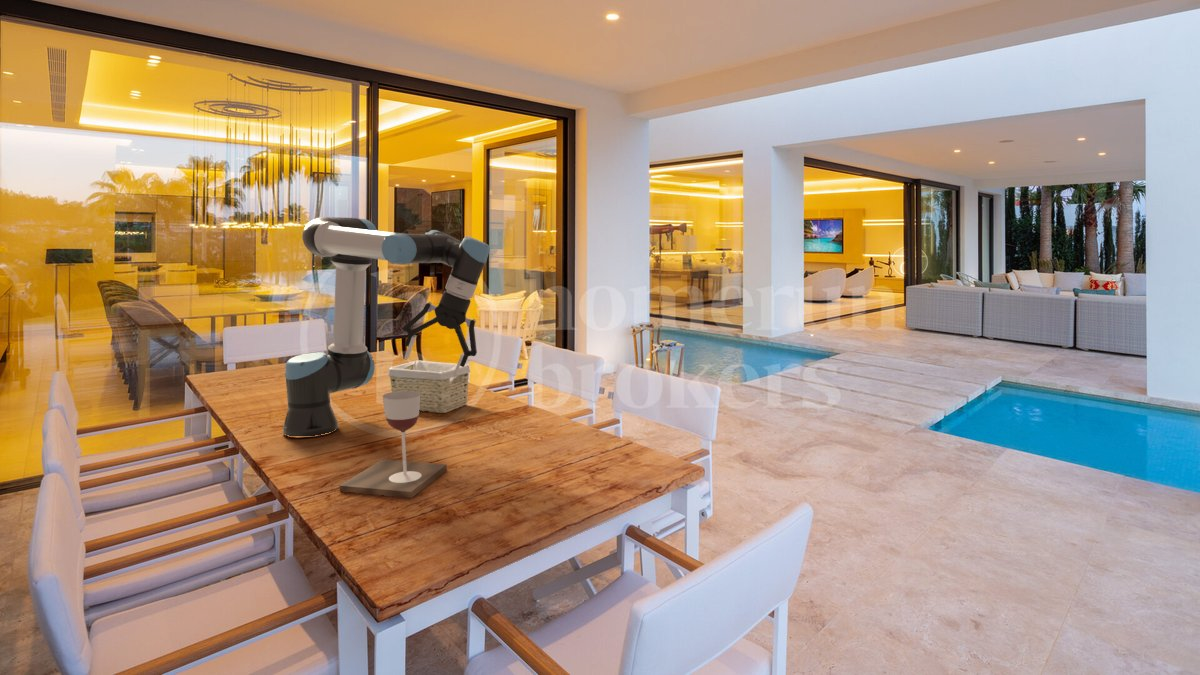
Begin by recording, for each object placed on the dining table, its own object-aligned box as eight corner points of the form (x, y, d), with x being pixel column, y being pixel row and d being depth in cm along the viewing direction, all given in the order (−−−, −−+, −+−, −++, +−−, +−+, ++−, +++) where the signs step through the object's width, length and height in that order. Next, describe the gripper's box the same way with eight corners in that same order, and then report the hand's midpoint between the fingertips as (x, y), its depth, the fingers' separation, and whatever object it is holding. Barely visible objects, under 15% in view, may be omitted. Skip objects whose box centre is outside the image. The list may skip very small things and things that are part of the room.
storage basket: (387, 408, 217) (385, 367, 215) (418, 398, 232) (417, 359, 229) (444, 416, 208) (442, 372, 205) (472, 404, 222) (471, 364, 220)
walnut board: (339, 491, 144) (339, 485, 144) (382, 464, 161) (381, 459, 161) (411, 498, 140) (411, 491, 140) (446, 470, 158) (446, 464, 158)
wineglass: (405, 468, 155) (401, 389, 152) (430, 475, 150) (427, 394, 147) (379, 478, 148) (374, 396, 145) (405, 485, 144) (401, 401, 141)
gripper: (409, 278, 161) (382, 353, 164) (501, 313, 165) (472, 386, 167) (415, 276, 168) (389, 348, 171) (502, 310, 172) (475, 380, 175)
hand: (430, 367), depth 169 cm, fingers open, 13 cm apart
